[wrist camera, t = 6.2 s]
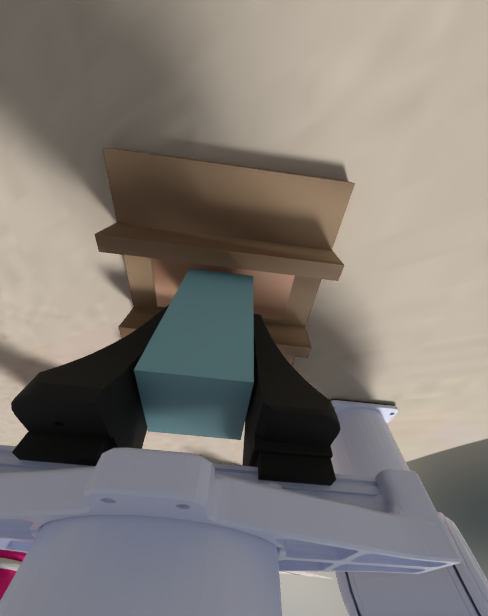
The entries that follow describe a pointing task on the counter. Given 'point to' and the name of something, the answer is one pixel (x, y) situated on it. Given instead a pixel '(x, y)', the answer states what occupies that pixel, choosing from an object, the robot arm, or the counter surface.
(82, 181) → the counter surface
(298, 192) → the slot rack
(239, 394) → the plug block
